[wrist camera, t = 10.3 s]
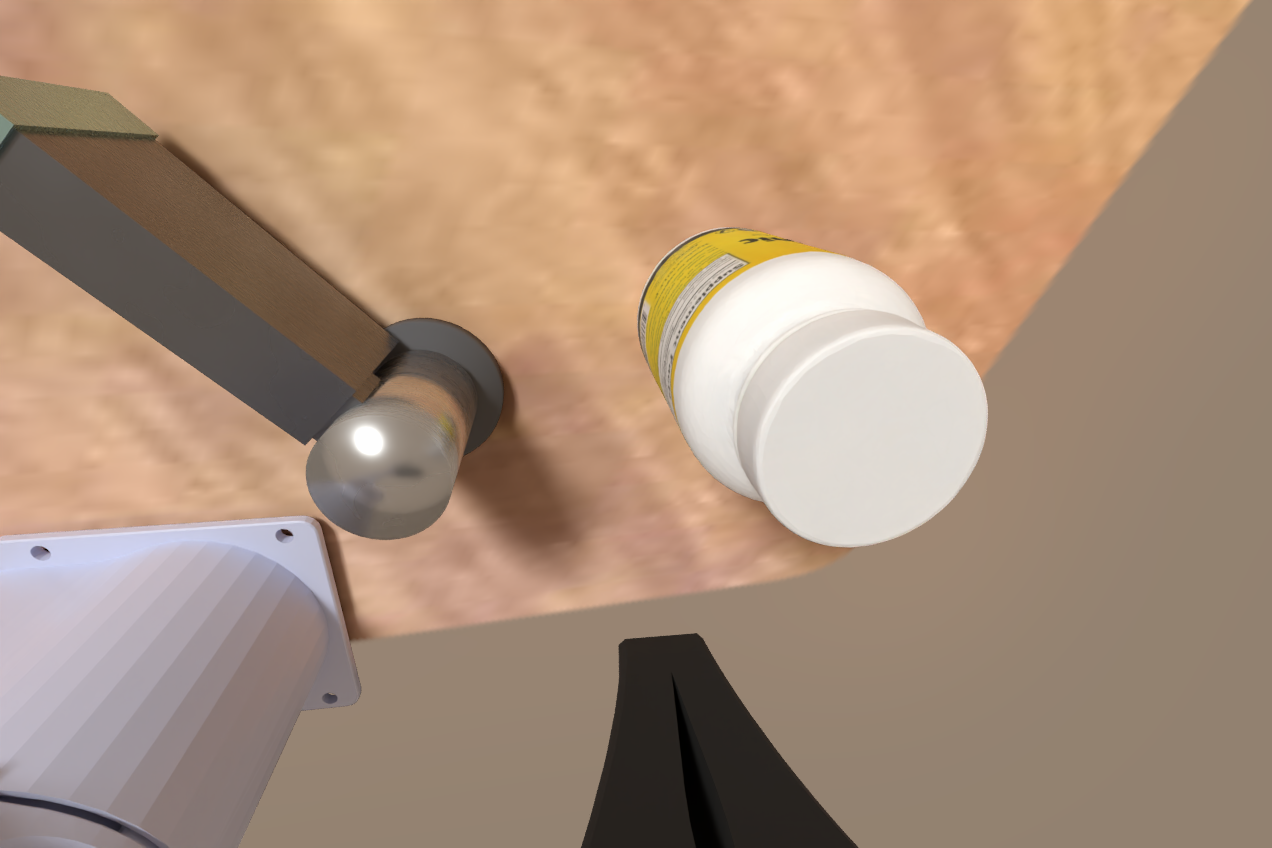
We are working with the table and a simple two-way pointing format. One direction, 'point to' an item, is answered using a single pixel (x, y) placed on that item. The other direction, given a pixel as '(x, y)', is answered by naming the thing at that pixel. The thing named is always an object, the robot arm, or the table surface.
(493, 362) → the pivot base
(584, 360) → the table surface
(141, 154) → the swing bar
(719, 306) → the supplement bottle
